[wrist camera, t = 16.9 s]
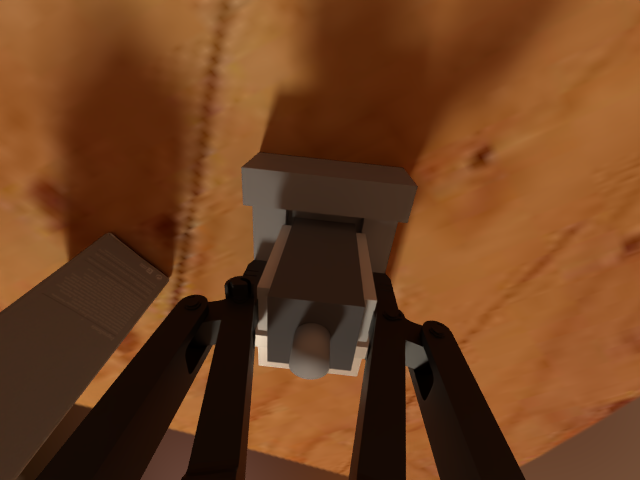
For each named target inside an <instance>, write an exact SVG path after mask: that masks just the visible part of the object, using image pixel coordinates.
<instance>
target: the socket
mask: <svg viewBox="0 0 640 480" xmlns="http://www.w3.org/2000/svg"><path fill="white" fill-rule="evenodd" d="M241 168H242V189H243V205H248V206H253V236H254V260H264V261H268V259H269V257H270V254H271V252H272V249H273V247H274V245H275V242H276V240H277V237H278V235H279V232H280V230H281V228H282V225H291V226H292V224H293V221H294V218H295V217H297V218H307V219H316V220H325V221H334V222H344V223H353V224H355V227H356V233H363V234H366V240H367V246H368V251H369V257H370V263H371V269H372V272H376V273H385V271H386V267H387V263H388V259H389V255H390V251H391V247H392V243H393V239H394V236H395V232H396V228H397V224H398V222H403V223H408V219H409V216H410V212H411V208H412V205H413V201H414V197H415V194H416V190H417V187H418V186H417V185H416V184H415V182H414V181H413V180H412V179H411V177H410V176H409V175H408V173H407V172H406V171H405V170H404V168H400V167H390V166H381V165H372V164H363V163H353V162H344V161H335V160H326V159H316V158H307V157H298V156H289V155H279V154H270V153H261V152H259V153H258V154H257V155H255V156H254V157H253V158H252V159H251V160H249V161H248V162H247V163H246V164H245V165H244V166H242V167H241Z"/></svg>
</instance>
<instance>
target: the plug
mask: <svg viewBox="0 0 640 480" xmlns="http://www.w3.org/2000/svg"><path fill="white" fill-rule="evenodd" d="M364 310H365V302H364V294H363V286H362V277H361V269H360V261H359V252H358V244H357V236H356V227H355V224H353V223H344V222H334V221H325V220H316V219H307V218H297V217H295V218H294V221H293V224H292V227H291V229H290V232H289V235H288V238H287V241H286V244H285V247H284V250H283V252H282V255H281V258H280V261H279V264H278V267H277V270H276V272H275V275H274V278H273V281H272V284H271V287H270V290H269V293H268V295H267V362H276V363H285V364H289V368H290V370H291V371H292V372H293V373H294V374H295V375H297V376H298V377H301V378H304V379H318V378H321V377H323V376H324V375H326V374H327V373H328V371H329V369H338V370H347V371H351V368H352V364H353V359H354V355H355V350H356V346H357V341H358V337H359V332H360V328H361V323H362V319H363V314H364Z"/></svg>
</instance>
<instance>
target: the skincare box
mask: <svg viewBox="0 0 640 480" xmlns="http://www.w3.org/2000/svg"><path fill="white" fill-rule="evenodd" d="M168 281H169V278H168V277H166V276H165V275H164V274H163V273H162V272H160V271H159V270H158V269H156V268H155V267H153V266H152V265H151V264H149V263H148V262H147V261H145V260H144V259H143V258H141V257H140V256H139V255H137V254H136V253H135V252H134V251H132V250H131V249H130V248H129V247H127V246H126V245H125V244H123V243H122V242H121V241H120V240H119V239H118V238H116V237H115V236H114V235H113V234H112V233H107V234H105V235H103V236H102V237H101V238H99V239H98V240H97V241H95V242H94V243H93V244H91V245H90V246H89V247H88V248H86V249H85V250H84V251H82V252H81V253H80V254H78V255H77V256H76V257H74V258H73V259H72V260H70V261H69V262H67V263H66V264H65V265H63V266H62V267H61V268H59V269H58V270H57V271H55V272H54V273H53V274H51V275H50V276H49V277H47V278H46V279H44V280H43V281H42V282H40V283H39V284H38V285H36V286H35V287H34V288H32V289H31V290H30V291H28V292H27V293H26V294H24V295H23V296H22V297H20V298H19V299H18V300H16V301H15V302H14V303H12V304H11V305H10V306H8V307H7V308H6V309H4V310H3V311H1V312H0V480H16V478H17V477H18V476H19V474H20V473H21V471H22V470H23V469H24V468H25V466H26V465H27V464H28V463H29V461H30V460H31V459H32V457H33V456H34V455H35V454H36V452H37V451H38V449H39V448H40V447H41V446H42V445H43V443H44V442H45V441H46V440H47V438H48V437H49V436H50V434H51V433H52V432H53V430H54V429H55V428H56V426H57V425H58V424H59V423H60V421H61V420H62V419H63V417H64V416H65V415H66V413H67V412H68V411H69V410H70V408H71V407H72V406H73V405H74V403H75V402H76V401H77V399H78V398H79V397H80V395H81V394H82V393H83V392H84V390H85V389H86V388H87V386H88V385H89V384H90V382H91V381H92V380H93V379H94V377H95V376H96V375H97V373H98V372H99V371H100V369H101V368H102V367H103V366H104V364H105V363H106V362H107V360H108V359H109V358H110V357H111V355H112V354H113V353H114V351H115V350H116V349H117V348H118V346H119V345H120V344H121V342H122V341H123V340H124V338H125V337H126V336H127V334H128V333H129V332H130V331H131V329H132V328H133V327H134V325H135V324H136V323H137V322H138V320H139V319H140V318H141V316H142V315H143V314H144V312H145V311H146V310H147V309H148V307H149V306H150V305H151V303H152V302H153V301H154V300H155V298H156V297H157V296H158V294H159V293H160V292H161V290H162V289H163V288H164V287H165V285H166V284H167V283H168Z"/></svg>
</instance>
